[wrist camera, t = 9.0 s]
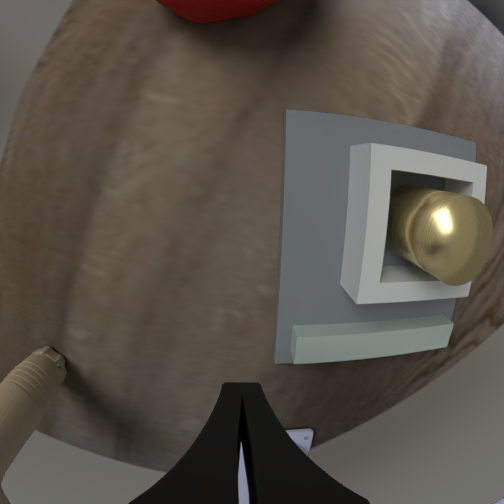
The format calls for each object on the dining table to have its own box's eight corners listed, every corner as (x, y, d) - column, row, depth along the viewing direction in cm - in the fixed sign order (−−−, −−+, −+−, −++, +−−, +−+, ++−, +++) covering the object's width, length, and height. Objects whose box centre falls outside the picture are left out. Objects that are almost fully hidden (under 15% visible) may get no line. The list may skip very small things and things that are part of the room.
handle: (50, 320, 20) (-65, 451, 5) (92, 385, 21) (21, 530, 7) (17, 334, 20) (-83, 444, 6) (57, 393, 22) (-14, 514, 7)
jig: (436, 340, 22) (461, 365, 18) (273, 355, 21) (279, 391, 17) (467, 143, 18) (503, 143, 14) (283, 112, 17) (296, 98, 13)
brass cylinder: (427, 253, 19) (483, 284, 13) (372, 252, 18) (422, 287, 13) (436, 189, 17) (498, 201, 12) (380, 181, 17) (437, 190, 11)
